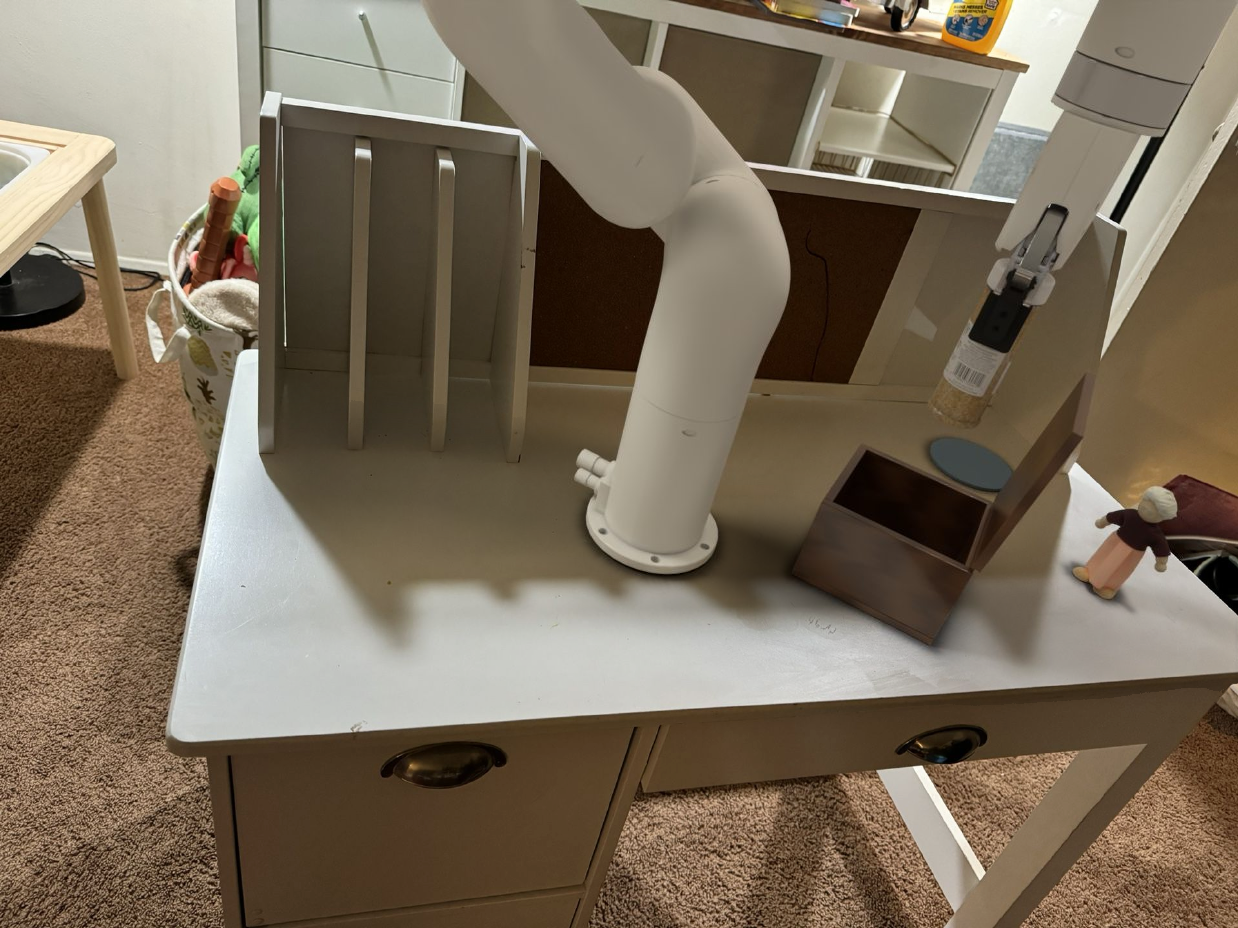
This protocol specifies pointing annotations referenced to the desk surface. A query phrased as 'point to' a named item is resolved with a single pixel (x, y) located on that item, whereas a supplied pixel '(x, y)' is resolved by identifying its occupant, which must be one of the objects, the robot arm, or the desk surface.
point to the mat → (970, 464)
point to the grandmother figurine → (1130, 542)
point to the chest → (894, 542)
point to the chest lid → (1036, 470)
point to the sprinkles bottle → (979, 364)
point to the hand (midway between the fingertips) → (994, 332)
